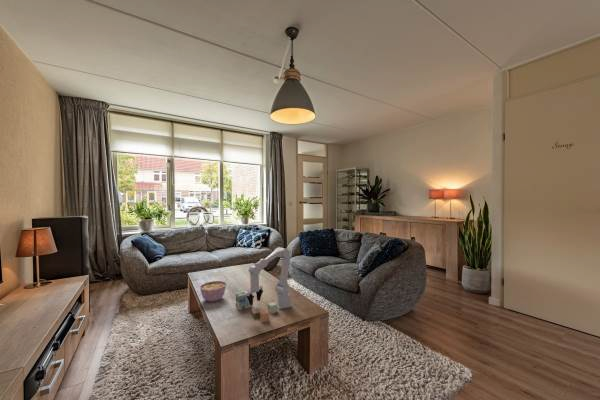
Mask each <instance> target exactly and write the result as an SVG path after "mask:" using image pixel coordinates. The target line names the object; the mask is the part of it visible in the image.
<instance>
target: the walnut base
mask: <svg viewBox="0 0 600 400" xmlns="http://www.w3.org/2000/svg"><path fill="white" fill-rule="evenodd" d="M262 310H263V307H256V308H251V316H252V318H253V319H257V318H260V311H262Z"/></svg>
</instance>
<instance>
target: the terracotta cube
mask: <svg viewBox="0 0 600 400" xmlns="http://www.w3.org/2000/svg"><path fill="white" fill-rule="evenodd" d="M259 320H260V322H261V323H265V322H267V323H268V322H270V313H269V312H268V309H264V310H263V309H262V311H260V317H259Z"/></svg>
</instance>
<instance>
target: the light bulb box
mask: <svg viewBox="0 0 600 400" xmlns="http://www.w3.org/2000/svg"><path fill="white" fill-rule="evenodd" d="M249 290H250V289H248V290H242V291H239V292H235V308H236V309H237V310H238V311H242V310H245V309H248V308H252V307H253V305H250V304H249V300H248V298H247V297H246V293H247V292H248V291H249Z"/></svg>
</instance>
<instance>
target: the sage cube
mask: <svg viewBox="0 0 600 400" xmlns="http://www.w3.org/2000/svg"><path fill="white" fill-rule="evenodd" d="M277 304H278V303H277V302H275V301H272V302H268V303H267V310H268V312H269V314H271V315H273V314H275V313H278V307H277Z"/></svg>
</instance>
